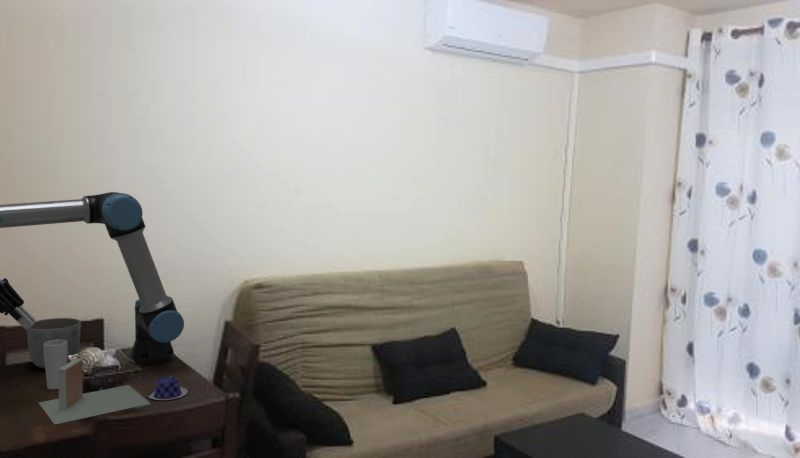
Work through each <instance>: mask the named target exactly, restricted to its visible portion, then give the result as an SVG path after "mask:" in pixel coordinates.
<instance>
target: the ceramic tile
mask: <svg viewBox="0 0 800 458" xmlns="http://www.w3.org/2000/svg"><path fill="white" fill-rule="evenodd" d="M58 378H59V389H58V399H59V409H64V410H66V409H68V408H69V407H70V406H72V405H73V404H74V403H76V402H77V401H78V400H80V399H81V398H82V397H83V394H84V392H83V391H84V388H83V384H84V383H83V359H82V358H76V359H74V360H73V361H71V362H69V363H68V364H66V365H65V366H63V367H61V368H60V369H58Z"/></svg>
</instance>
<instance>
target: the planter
mask: <svg viewBox="0 0 800 458" xmlns="http://www.w3.org/2000/svg"><path fill="white" fill-rule="evenodd" d="M81 327H82V321H81V320H79V319H77V318H73V317H72V318H71V317H55V318H46V319H45V318H44V319H39V320H37V322H36V323H35V324H34V325H33V326H32V327H30V328H27V329H26V336H27V345H28V354H29V358H30V360H31V362H32V363H33V365H35V366H36V367H38V368H40V369H45V363H44V343H45V342H47V341H51V340H66V341H67V345H68V356H69V355H74V354H77V353H78V354H79V352H80V343H81V342H80V341H81ZM69 362H70V360H69V359H68V358H67V364H68V363H69Z"/></svg>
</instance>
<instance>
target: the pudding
mask: <svg viewBox="0 0 800 458" xmlns="http://www.w3.org/2000/svg"><path fill="white" fill-rule="evenodd" d="M187 394H188V389H186V388H185V387H182V386H180V382H179V380H178V378H176V377H174V376H165V377H164V376H163V377H161V378H159V379H157V382H156V386H155V389H153V390H152V392H150V394H148V395H147V397H148V398H149V399H151V400H156V401H170V400H175V399H179V398H183V397H184V396H186V395H187Z"/></svg>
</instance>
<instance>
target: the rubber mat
mask: <svg viewBox="0 0 800 458" xmlns="http://www.w3.org/2000/svg"><path fill="white" fill-rule="evenodd" d="M38 405H40V407H41V408H42V410H43V411H44V412H45V413H46V415H47V416H48V417H49V419H50V420H51V422H52V423H53V424H54V425H59V424H64V423H68V422H69V423H70V422H73V421H78V420H81V419H82V420H83V419H86V418H90V417H96V416H100V415H101V416H102V415H105V414H109V413H113V412H118V411H123V410H128V409H133V408H136V409H140V407H141V408H146V407H150V406H151V405H152V404H151V402H150V401H149V400H147V399H146V398H145V397H144V396H142V395H141V394H140V393H139V392H138V391H137V390H136V389H134V388H133V387H132V386H131V385H129V384H127V385H120V386H117V387H111V388H107V389H102V390H97V391H92V392H91V391H90V392H85V393H83V397H82V398H81V399H80V400H78V401H77V402H76V403H74V404H73V405H72V406H70V407H69V408H68V409H66V410H64V409H59V398H54V399H50V400H45V401H40V402H38ZM145 406H146V407H145Z"/></svg>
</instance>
